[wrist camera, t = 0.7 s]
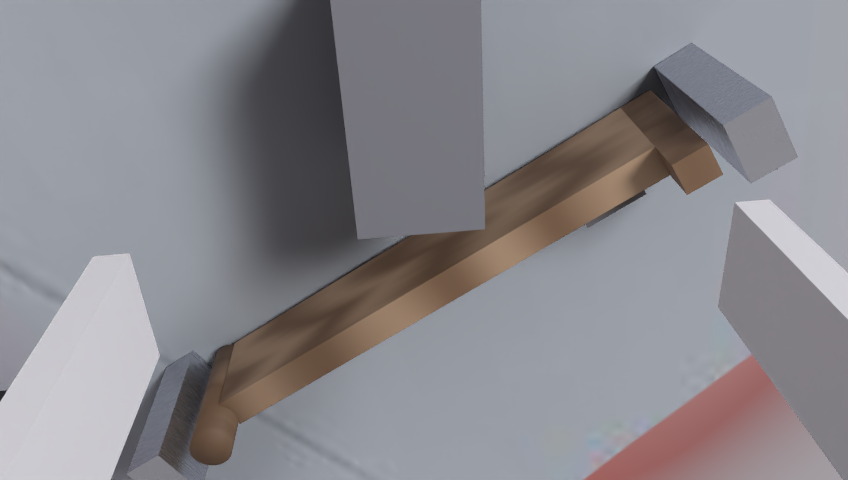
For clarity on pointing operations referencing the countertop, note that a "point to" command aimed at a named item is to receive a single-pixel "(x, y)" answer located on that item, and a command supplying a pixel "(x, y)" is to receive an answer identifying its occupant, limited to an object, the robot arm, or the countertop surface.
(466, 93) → the rubber block
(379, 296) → the gate
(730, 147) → the grey blocks
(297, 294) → the countertop surface
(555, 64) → the countertop surface
